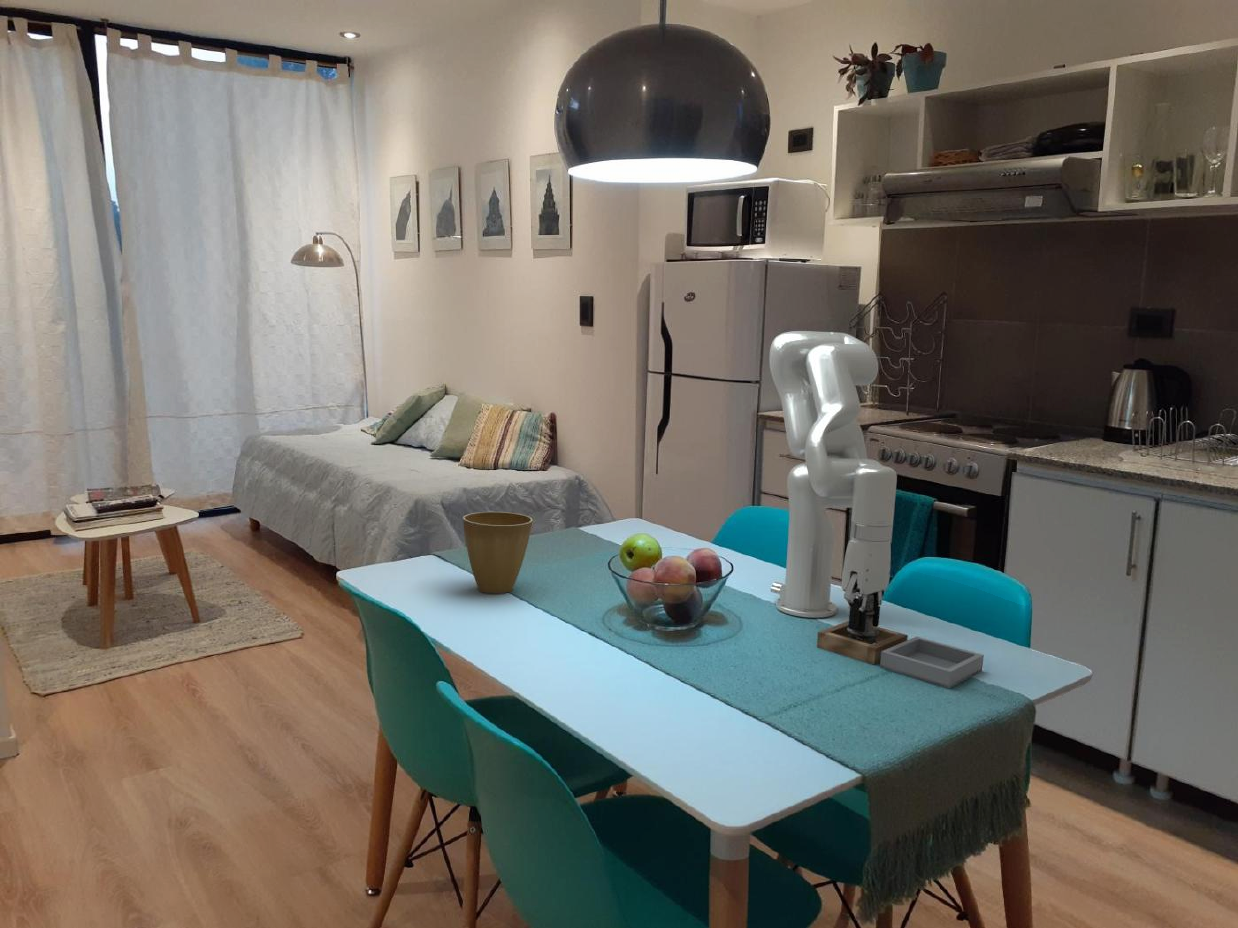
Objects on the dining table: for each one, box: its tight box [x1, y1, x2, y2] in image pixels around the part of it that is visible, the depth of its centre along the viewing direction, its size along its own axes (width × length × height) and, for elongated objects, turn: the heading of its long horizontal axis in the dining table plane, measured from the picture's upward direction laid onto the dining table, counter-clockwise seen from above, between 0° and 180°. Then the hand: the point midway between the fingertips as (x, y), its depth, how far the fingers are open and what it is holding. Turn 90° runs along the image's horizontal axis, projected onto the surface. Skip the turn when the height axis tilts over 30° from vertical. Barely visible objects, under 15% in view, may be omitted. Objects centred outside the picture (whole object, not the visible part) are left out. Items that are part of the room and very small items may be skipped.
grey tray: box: [879, 636, 985, 689], centre depth 174 cm, size 13×13×3 cm
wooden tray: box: [816, 620, 909, 665], centre depth 184 cm, size 12×12×3 cm
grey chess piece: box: [847, 594, 879, 645], centre depth 183 cm, size 6×6×12 cm
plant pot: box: [462, 511, 533, 595], centre depth 212 cm, size 15×15×16 cm
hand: (863, 626), depth 183 cm, fingers closed on grey chess piece, 4 cm apart
